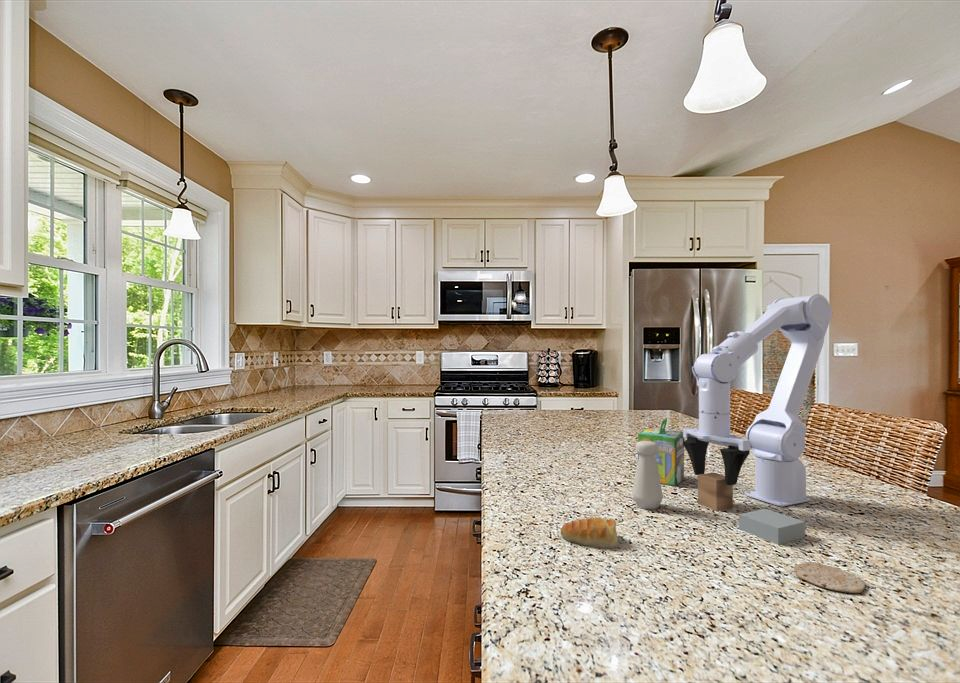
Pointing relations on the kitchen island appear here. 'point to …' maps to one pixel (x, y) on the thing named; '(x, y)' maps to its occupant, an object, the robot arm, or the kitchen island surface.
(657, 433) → the chalk box
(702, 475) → the walnut block
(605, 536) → the pastry
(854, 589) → the flatbread
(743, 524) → the base slab
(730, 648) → the kitchen island surface
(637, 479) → the salt shaker
